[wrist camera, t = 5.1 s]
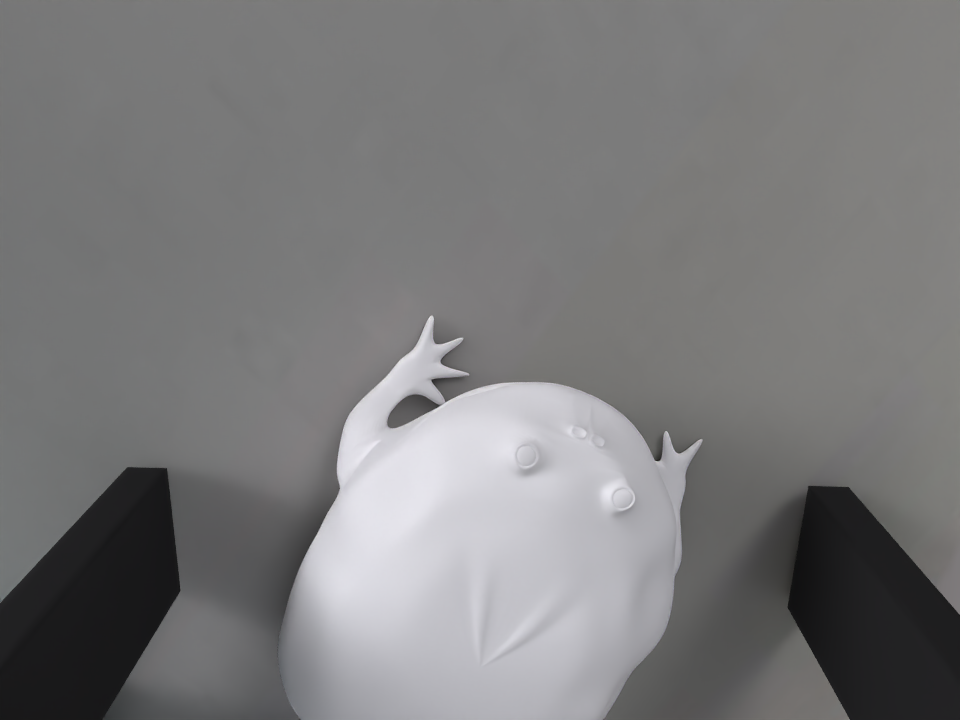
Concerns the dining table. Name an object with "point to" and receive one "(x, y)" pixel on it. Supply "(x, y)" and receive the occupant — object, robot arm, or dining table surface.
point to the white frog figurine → (484, 556)
